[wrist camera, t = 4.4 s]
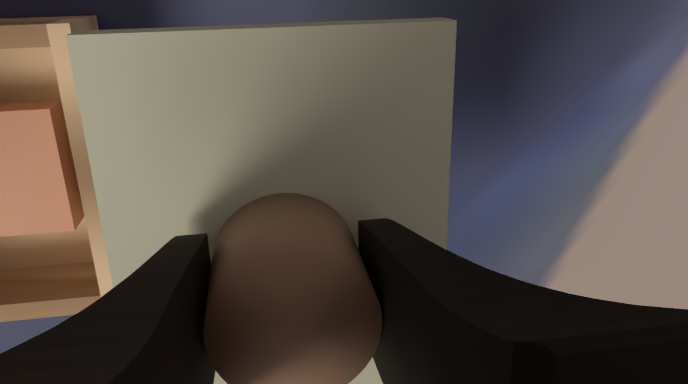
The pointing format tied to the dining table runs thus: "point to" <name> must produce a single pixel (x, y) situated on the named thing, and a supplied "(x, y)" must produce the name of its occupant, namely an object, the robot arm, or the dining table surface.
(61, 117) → the block
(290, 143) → the lid
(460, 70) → the dining table surface
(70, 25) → the box
